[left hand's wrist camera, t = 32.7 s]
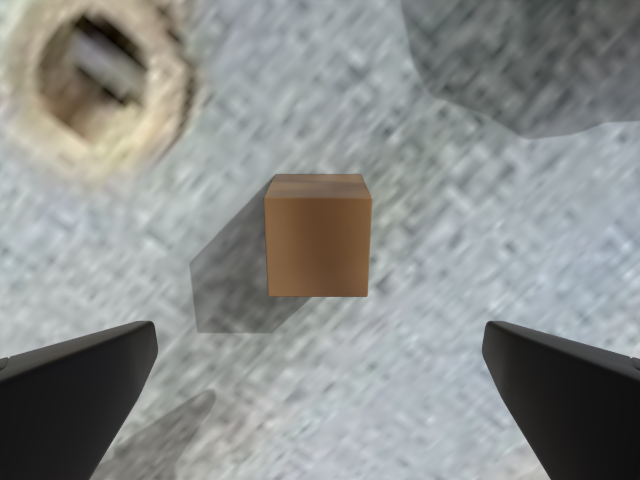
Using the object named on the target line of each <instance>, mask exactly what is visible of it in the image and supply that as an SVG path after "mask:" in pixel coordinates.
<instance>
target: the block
mask: <svg viewBox="0 0 640 480" xmlns="http://www.w3.org/2000/svg"><path fill="white" fill-rule="evenodd" d="M371 212H372V197H371V195H370V193H369V191H368V188H367V186H366V184H365V182H364V180H363V177H362V175H361V174H275V176H274V178H273V180H272V182H271V184H270V186H269V188H268V190H267V192H266V194H265V196H264V217H265V239H266V261H267V283H268V296H269V297H367V296H368V276H369V254H370V233H371Z"/></svg>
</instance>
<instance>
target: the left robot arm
mask: <svg viewBox="0 0 640 480" xmlns="http://www.w3.org/2000/svg"><path fill="white" fill-rule="evenodd" d="M157 354H158V345H157V338H156V332H155V326H154V324H153V322H151V321H136V322H132V323H129V324H125V325H122V326H118V327H114V328H111V329H107V330H104V331H100V332H97V333H93V334H89V335H86V336H82V337H79V338H75V339H72V340H68V341H65V342H61V343H57V344H54V345H50V346H47V347H43V348H40V349H36V350H33V351H29V352H25V353H22V354H18V355H15V356H11V357H10V358H7V357H6V358H2V359H0V480H89V479H90V478H91V476H92V474H93V473H94V471H95V469H96V468H97V466H98V464H99V463H100V461H101V459H102V458H103V456H104V454H105V453H106V451H107V449H108V448H109V446H110V444H111V443H112V441H113V440H114V438H115V436H116V435H117V433H118V431H119V430H120V428H121V426H122V425H123V423H124V421H125V420H126V418H127V416H128V415H129V413H130V411H131V410H132V408H133V406H134V405H135V403H136V401H137V399H138V398H139V396H140V394H141V392H142V389H143V387H144V385H145V383H146V380H147V378H148V376H149V374H150V371H151V369H152V367H153V365H154V362H155V360H156V358H157ZM482 354H483V358H484V360H485V362H486V365H487V367H488V369H489V371H490V374H491V376H492V378H493V380H494V383H495V385H496V387H497V389H498V392H499V394H500V396H501V398H502V399H503V401H504V403H505V405H506V406H507V408H508V410H509V411H510V413H511V415H512V416H513V418H514V420H515V421H516V423H517V425H518V426H519V428H520V430H521V431H522V433H523V435H524V436H525V438H526V440H527V441H528V443H529V444H530V446H531V448H532V449H533V451H534V453H535V454H536V456H537V458H538V459H539V461H540V463H541V464H542V466H543V468H544V469H545V471H546V473H547V474H548V476H549V478H550V479H551V480H640V359H638V358H634V357H633V358H630V357H629V356H625V355H622V354H618V353H615V352H611V351H607V350H604V349H600V348H597V347H593V346H590V345H586V344H583V343H579V342H575V341H572V340H568V339H565V338H561V337H558V336H554V335H551V334H547V333H543V332H540V331H536V330H533V329H529V328H526V327H522V326H518V325H515V324H511V323H508V322H504V321H488V322H487V324H486V326H485V332H484V338H483V345H482Z"/></svg>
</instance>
